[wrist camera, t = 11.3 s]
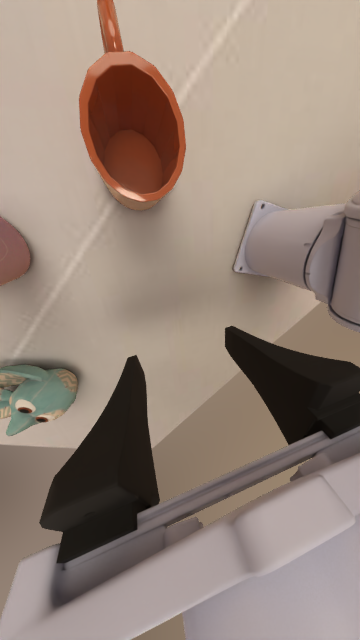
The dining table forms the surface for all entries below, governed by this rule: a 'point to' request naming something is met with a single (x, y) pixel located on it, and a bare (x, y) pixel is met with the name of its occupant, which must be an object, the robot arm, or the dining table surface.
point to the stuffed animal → (34, 395)
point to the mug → (130, 121)
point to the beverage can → (12, 253)
